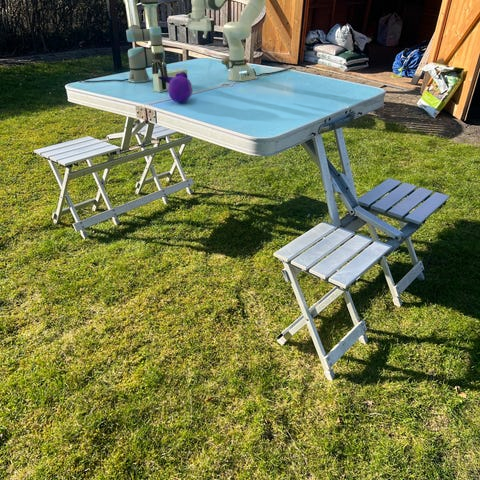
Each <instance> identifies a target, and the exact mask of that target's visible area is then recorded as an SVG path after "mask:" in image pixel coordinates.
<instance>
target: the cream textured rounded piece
mask: <svg viewBox="0 0 480 480" xmlns="http://www.w3.org/2000/svg"><path fill="white" fill-rule="evenodd" d="M229 59H230V55H229V54H228V56H224V57H222V59H221V64H222V65H224V66H225V68H226V69H227V71H228V70H230V67H229Z"/></svg>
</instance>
